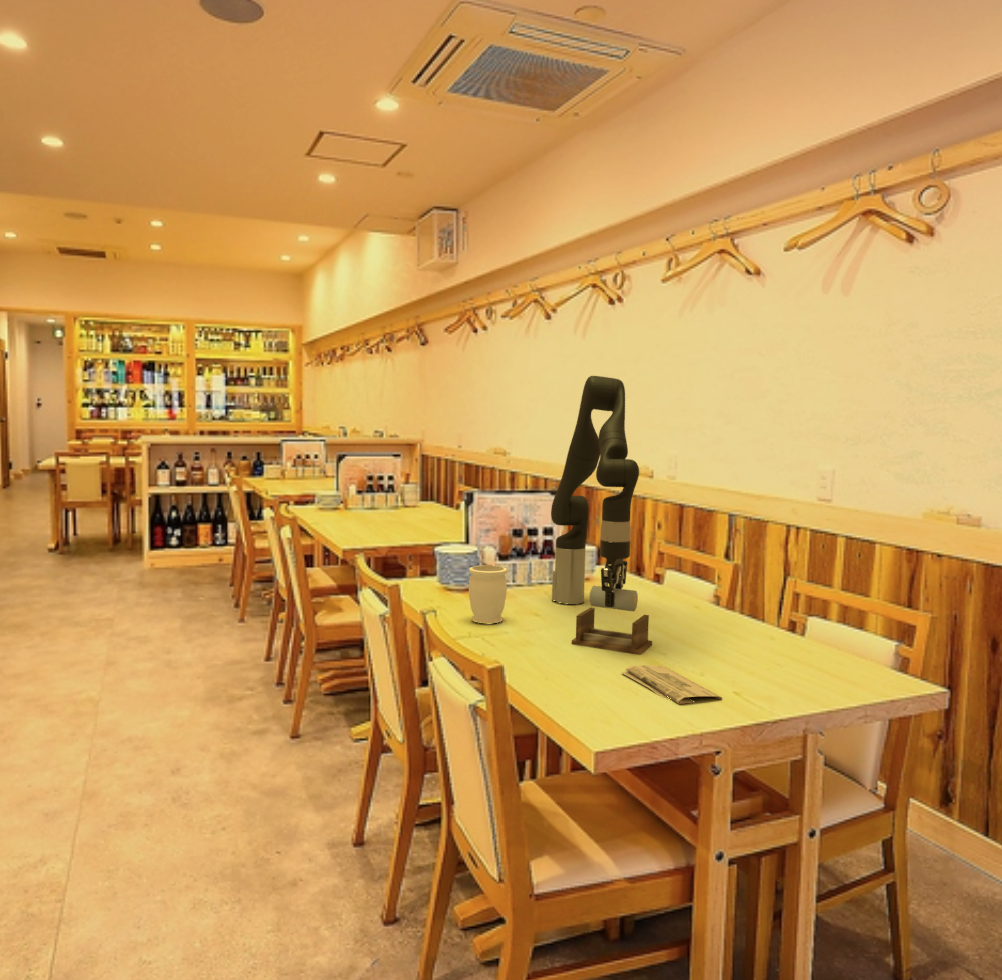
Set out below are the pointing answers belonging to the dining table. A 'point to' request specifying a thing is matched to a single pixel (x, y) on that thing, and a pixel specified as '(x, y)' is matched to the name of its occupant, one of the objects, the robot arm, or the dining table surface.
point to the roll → (615, 599)
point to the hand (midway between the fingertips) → (613, 604)
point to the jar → (487, 593)
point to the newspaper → (667, 683)
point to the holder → (611, 635)
